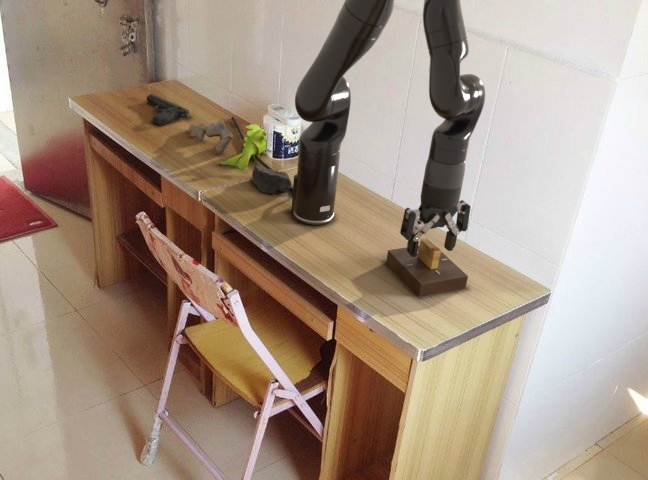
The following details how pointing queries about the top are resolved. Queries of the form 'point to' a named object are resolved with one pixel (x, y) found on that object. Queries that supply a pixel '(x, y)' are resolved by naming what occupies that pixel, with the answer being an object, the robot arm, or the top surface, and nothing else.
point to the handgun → (166, 110)
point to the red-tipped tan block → (429, 253)
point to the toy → (250, 147)
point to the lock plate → (426, 273)
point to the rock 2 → (271, 180)
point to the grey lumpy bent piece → (213, 134)
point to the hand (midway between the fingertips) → (430, 252)
